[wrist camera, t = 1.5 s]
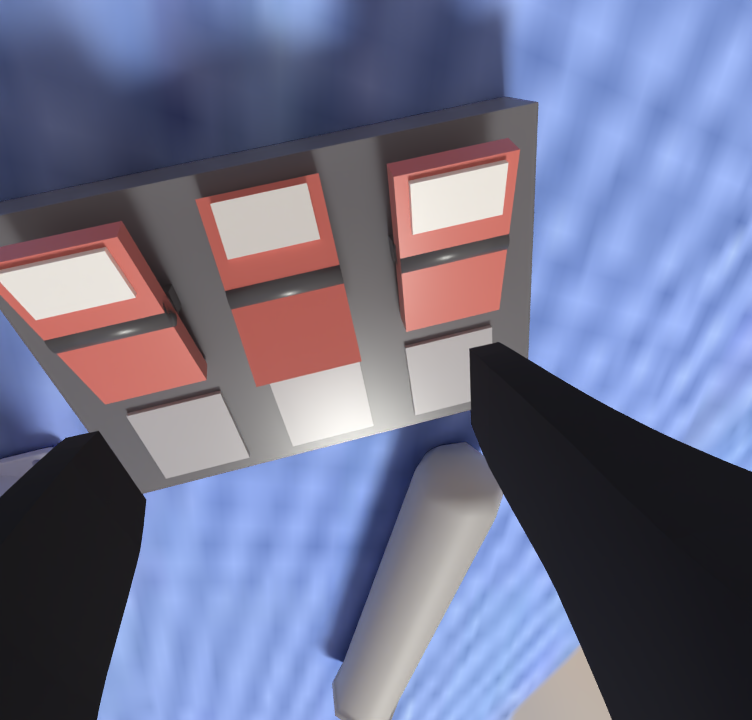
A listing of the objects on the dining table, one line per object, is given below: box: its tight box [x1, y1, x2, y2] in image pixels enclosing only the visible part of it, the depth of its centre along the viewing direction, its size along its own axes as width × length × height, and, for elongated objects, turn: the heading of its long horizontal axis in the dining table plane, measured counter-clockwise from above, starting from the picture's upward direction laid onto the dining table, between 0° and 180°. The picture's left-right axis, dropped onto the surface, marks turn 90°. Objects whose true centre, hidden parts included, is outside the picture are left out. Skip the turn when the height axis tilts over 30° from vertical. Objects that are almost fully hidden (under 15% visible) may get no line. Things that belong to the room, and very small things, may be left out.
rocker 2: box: [195, 173, 362, 387], centre depth 15 cm, size 4×6×1 cm, turn 9°
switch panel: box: [0, 97, 538, 494], centre depth 18 cm, size 18×12×3 cm, turn 99°
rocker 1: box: [0, 221, 207, 404], centre depth 14 cm, size 4×6×1 cm, turn 9°
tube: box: [332, 442, 503, 720], centre depth 30 cm, size 5×5×25 cm
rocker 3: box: [387, 138, 520, 332], centre depth 15 cm, size 4×6×1 cm, turn 9°
